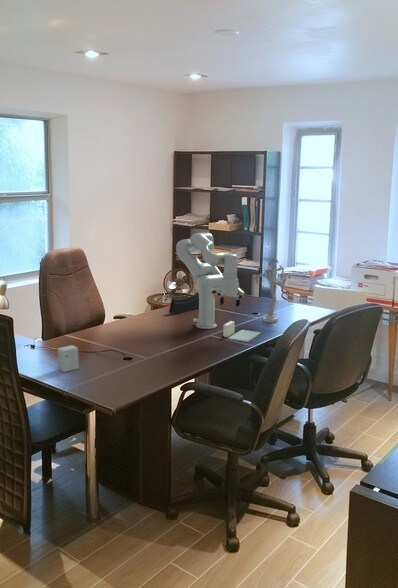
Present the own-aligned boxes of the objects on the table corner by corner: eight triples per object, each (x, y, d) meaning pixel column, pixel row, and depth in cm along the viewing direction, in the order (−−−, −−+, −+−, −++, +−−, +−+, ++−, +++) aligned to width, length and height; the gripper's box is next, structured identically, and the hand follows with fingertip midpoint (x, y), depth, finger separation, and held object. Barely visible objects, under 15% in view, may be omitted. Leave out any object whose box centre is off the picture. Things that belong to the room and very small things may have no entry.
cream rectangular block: (223, 336, 337) (223, 324, 336) (230, 332, 346) (230, 321, 344) (227, 337, 336) (227, 325, 335) (234, 333, 345) (234, 321, 343)
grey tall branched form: (256, 313, 391) (258, 254, 383) (291, 316, 385) (294, 256, 377) (248, 324, 365) (250, 260, 357) (286, 327, 359) (288, 262, 351)
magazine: (169, 302, 382) (199, 283, 401) (166, 301, 384) (195, 282, 403) (175, 325, 389) (203, 305, 408) (171, 324, 391) (199, 304, 410)
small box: (73, 365, 284) (72, 344, 282) (78, 368, 280) (78, 347, 278) (58, 369, 279) (57, 348, 277) (63, 372, 275) (63, 350, 273)
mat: (228, 339, 331) (228, 337, 331) (241, 331, 349) (241, 329, 349) (247, 342, 326) (247, 340, 326) (260, 333, 344) (260, 332, 343)
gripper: (213, 275, 334) (213, 305, 338) (241, 278, 327) (241, 308, 330) (219, 273, 341) (218, 302, 344) (246, 276, 333) (246, 305, 337)
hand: (229, 305), depth 337 cm, fingers open, 9 cm apart
